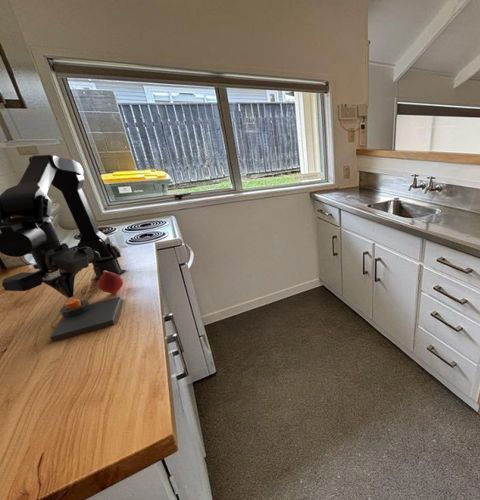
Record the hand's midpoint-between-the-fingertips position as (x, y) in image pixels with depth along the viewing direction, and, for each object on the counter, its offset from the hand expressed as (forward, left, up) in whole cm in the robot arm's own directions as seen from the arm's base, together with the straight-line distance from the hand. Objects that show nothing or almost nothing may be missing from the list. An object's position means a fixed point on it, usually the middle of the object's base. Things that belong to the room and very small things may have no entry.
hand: (70, 297), depth 76 cm
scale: (+1, +6, -6) cm, 8 cm away
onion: (-12, 0, -6) cm, 13 cm away
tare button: (0, 0, -3) cm, 3 cm away
